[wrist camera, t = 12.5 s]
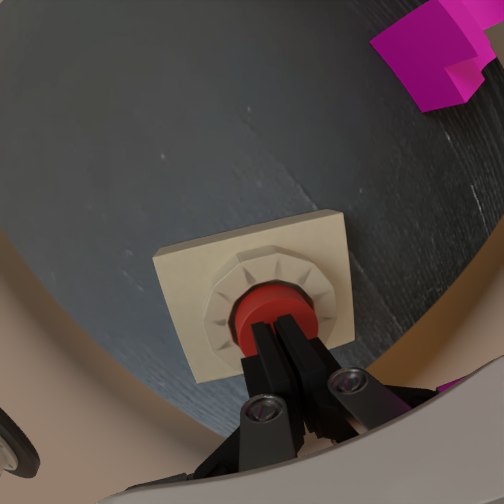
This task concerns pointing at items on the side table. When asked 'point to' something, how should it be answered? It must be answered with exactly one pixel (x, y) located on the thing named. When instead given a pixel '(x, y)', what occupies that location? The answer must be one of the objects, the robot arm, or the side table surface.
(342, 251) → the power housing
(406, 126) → the side table surface
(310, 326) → the power button
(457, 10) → the toy block
